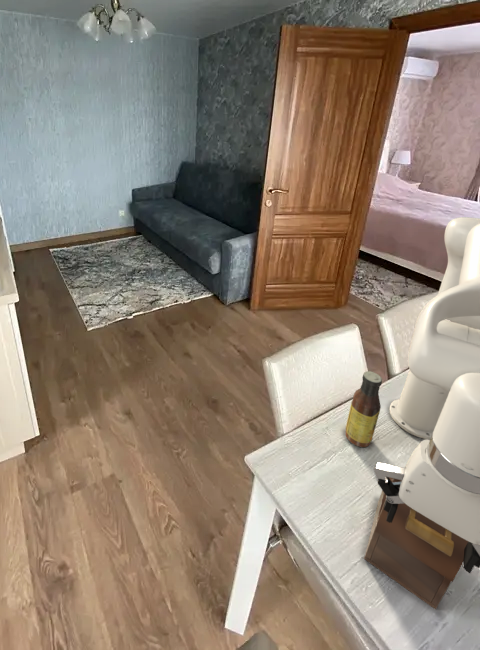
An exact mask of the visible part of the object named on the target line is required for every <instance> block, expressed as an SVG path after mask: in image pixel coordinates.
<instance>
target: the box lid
mask: <svg viewBox="0 0 480 650" xmlns="http://www.w3.org/2000/svg"><path fill="white" fill-rule="evenodd" d="M401 481H402V480H398V479H394V478H393V480H392V482H401ZM385 502H386V499H385ZM385 502H384V505H385ZM384 505H383V508H382V510H381V513H380V516H379V519H378V521H377V524H376V527H375V532H377V533H378V534H380V535H382V536H383V537H385V538H386V539H388V540H389V541H391V542H392V543H394V544H395V545H397V546H398V547H400V548H401V549H403V550H404V551H406V552H408V553H409V554H411V555H412V556H414V557H415V558H417V559H418V560H420V561H421V562H423V563H424V564H426V565H427V566H429V567H430V568H432V569H434V570H435V571H437V572H438V573H440V574H441V575H443V576H444V577H446V578H447V579H449V580H450V581H451V583H453V582H454V580H455V578H456V576H457V574H458V573H459V571H460V569H461V567H462V565H463V563H464V549H465V547H466V545H467V543H468V541H467V540H465V539H463V538H461V537H460V536H458V535H456V534H454V533H453V532H451V531H449V530H447V529H446V528H444V527H442V526H441V525H439V524H437V523H435V522H434V521H432V520H430V519H429V518H427V517H425V516H424V515H422V514H420V513H419V512H417V511H415V510H414V509H412V508H411V507H409V506H408V505H406V504H405V503H403V504H398V508H397V511H396V513H395V516H394V518H393V521H392V523H391V522H390V523H389V522H387V521H386V519H387V514H388V512H387V511H385V510H384Z"/></svg>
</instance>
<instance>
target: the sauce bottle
mask: <svg viewBox="0 0 480 650" xmlns="http://www.w3.org/2000/svg"><path fill="white" fill-rule="evenodd" d="M382 384H383V378H382V376H380V374H378V373H376V372H374V371H370V370H369V371H365V372H363V375H362V382H361V385H360V387H359V388H358V389H356V390H355V391H354V393H353V397H352V400H351V403H350V407H349V410H348V415H347V420H346V425H345V431H344V432H345V437H346V439H347V440H348V441H349V443H351V444H352V445H354V446H356V447H359V448H367V447H369V446H370V445H371V442H372V440H373V437H374V434H375V430H376V427H377V423H378V420H379V417H380V416H379V415H380V412H381V409H382V406H381V400H380V396H379V394H380V393H379V391H380V389H381V388H380V387H381V386H382Z"/></svg>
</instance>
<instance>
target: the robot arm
mask: <svg viewBox="0 0 480 650" xmlns="http://www.w3.org/2000/svg"><path fill="white" fill-rule="evenodd" d="M443 237H444V239H443V240H444V246H445V250H446V254H447V265H446V269H445V272H444V275H443V278H442V280H441V283H440V286H439V290H438V293H437V295H435V296H433V297H432V298H431V299H430V300H429V301H427V303H426V304H425V305H424V306H423V308H421V310H420V312H419V313H418V316H417V318H416V321H415V324H414V329H413V332H412V336H411V338H410V339H411V340H410V344H409V348H408V352H407V353H408V354H407V366H408V368H409V369H408V373H407V376H406V378H405V381H404V384H403V387H402V388H403V389H402V390H401V393H400V397H399V398H397V399H394V400H393V401H392V402H391V403H390V405H389V408H388V409H389V415H390V417H391V418H392V419H393V421H394V422H395V423H396V424H397V426H399V427H400V428H401V429H403V430H404V431H405V432H407V433H409V434H411V435H412V436H415V437H417V438H420V439H423V440H421V441H420V443H419V444H417V446H416V447H415V448H414V449H413V451H412V453H411V454H410V456H409V458H408V460H407V462H406V464H405V466H404V467H401V466H397V465H392V464H387V463H383V462H379V461H378V462H377V461H376V462H375V463H374V467H373V473H374V474H375V477H376V479H377V485H378V486H379V488H380V489H381V491H382V490H383V492H384V493H385V495H386V502H385V505H384V510H385V511H387V512H388V514H387V519H386V521H387V522H389V523H390V522H391V523H392V521H393V518H394V516H395V513H396V511H397V508H398V504H403V503H405V504H406V505H408V506H409V507H411V508H412V509H414V510H415V511H417V512H419V513H420V514H422V515H424V516H425V517H427V518H429V519H430V520H432V521H434V522H435V523H437V524H439V525H441V526H442V527H444V528H446V529H447V530H449V531H451V532H453V533H454V534H456V535H458V536H460V537H461V538H463V539H465V540H467V541H468V543H467V545H466V547H465V549H464V562H463V563H462V565H463V566H462V567H463V569H464V571H465V572H467V573H469V574H471V572H472V571H473V569H474V568H475V567H476V568H478V569H479V568H480V218H477V217H466V216H462V217H461V216H459V217H455V218H453V219H451V220H450V221H448V223H447V224H446V227H445V230H444V236H443ZM389 477H390V478H394V479H398V480H402V481H401V482H391V480H390V479H389Z"/></svg>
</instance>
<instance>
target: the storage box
mask: <svg viewBox="0 0 480 650" xmlns="http://www.w3.org/2000/svg"><path fill="white" fill-rule="evenodd" d="M389 479H390V480H391V482H392V480H393V478H390V477H389ZM385 499H386V495H385V493H384V492H383V490H382V489H381V493H380V496H379V498H378V501H377V505H376V509H375V513H374V517H373V520H372V526H371V529H370V534H369V536H368V541H367V545H366V548H365V549H366V550H365V553H364V557H363V559H364V560H365V561H366V562H368V564H371V565H372V566H373V567H374V568H376V569H377V570H378V571H380V572H381V573H383V574H384V575H386V576H387V577H389V578H390V579H392V580H393V581H394V582H396V583H397V584H398V585H400V586H401V587H402V588H404V589H405V590H407V591H409V592H410V593H411V594H412V595H414V596H416V597H417V598H419V599H420V600H421V601H423V602H424V603H425V604H427V605H428V606H429V607H431V608H433V609H434V610H437V608H438V606H439V605H440V603H441V601H442V600H443V597H444V596H445V594H446V592H447V590H448V589H449V587H450V585H451V583H452V581H450V580H449V579H447V578H446V577H444V576H443V575H441V574H440V573H438V572H437V571H435V570H434V569H432V568H430V567H429V566H427V565H426V564H424V563H423V562H421V561H420V560H418V559H417V558H415V557H414V556H412V555H411V554H409V553H408V552H406V551H404V550H403V549H401V548H400V547H398V546H397V545H395V544H394V543H392V542H391V541H389V540H388V539H386V538H385V537H383V536H382V535H380V534H378V533H377V532H375V527H376V524H377V521H378V519H379V516H380V513H381V510H382V508H383V505H384V502H385Z"/></svg>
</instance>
